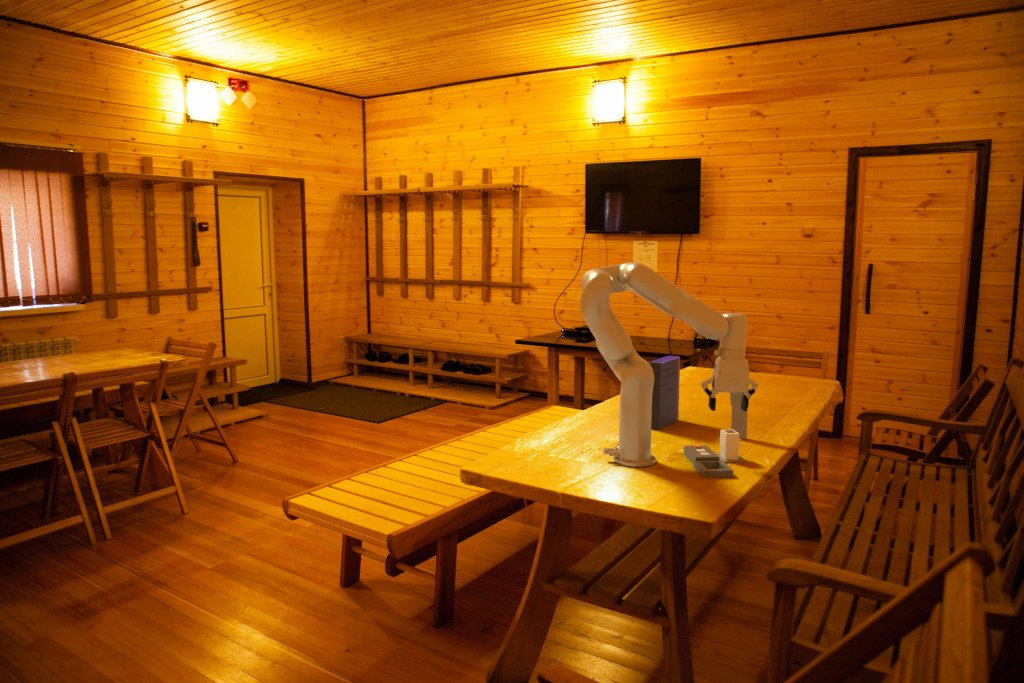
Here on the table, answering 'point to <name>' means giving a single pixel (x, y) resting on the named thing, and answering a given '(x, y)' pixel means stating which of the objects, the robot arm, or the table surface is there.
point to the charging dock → (707, 461)
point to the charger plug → (729, 444)
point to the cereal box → (665, 391)
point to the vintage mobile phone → (738, 415)
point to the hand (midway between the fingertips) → (728, 410)
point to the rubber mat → (732, 460)
